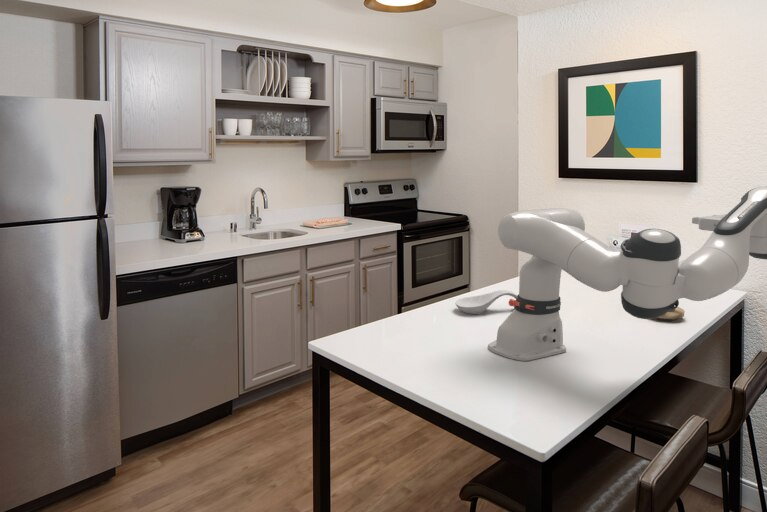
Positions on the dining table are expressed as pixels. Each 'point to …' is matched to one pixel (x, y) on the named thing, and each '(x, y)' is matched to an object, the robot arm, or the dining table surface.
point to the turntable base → (663, 319)
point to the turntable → (673, 314)
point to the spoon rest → (481, 301)
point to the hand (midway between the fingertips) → (703, 219)
